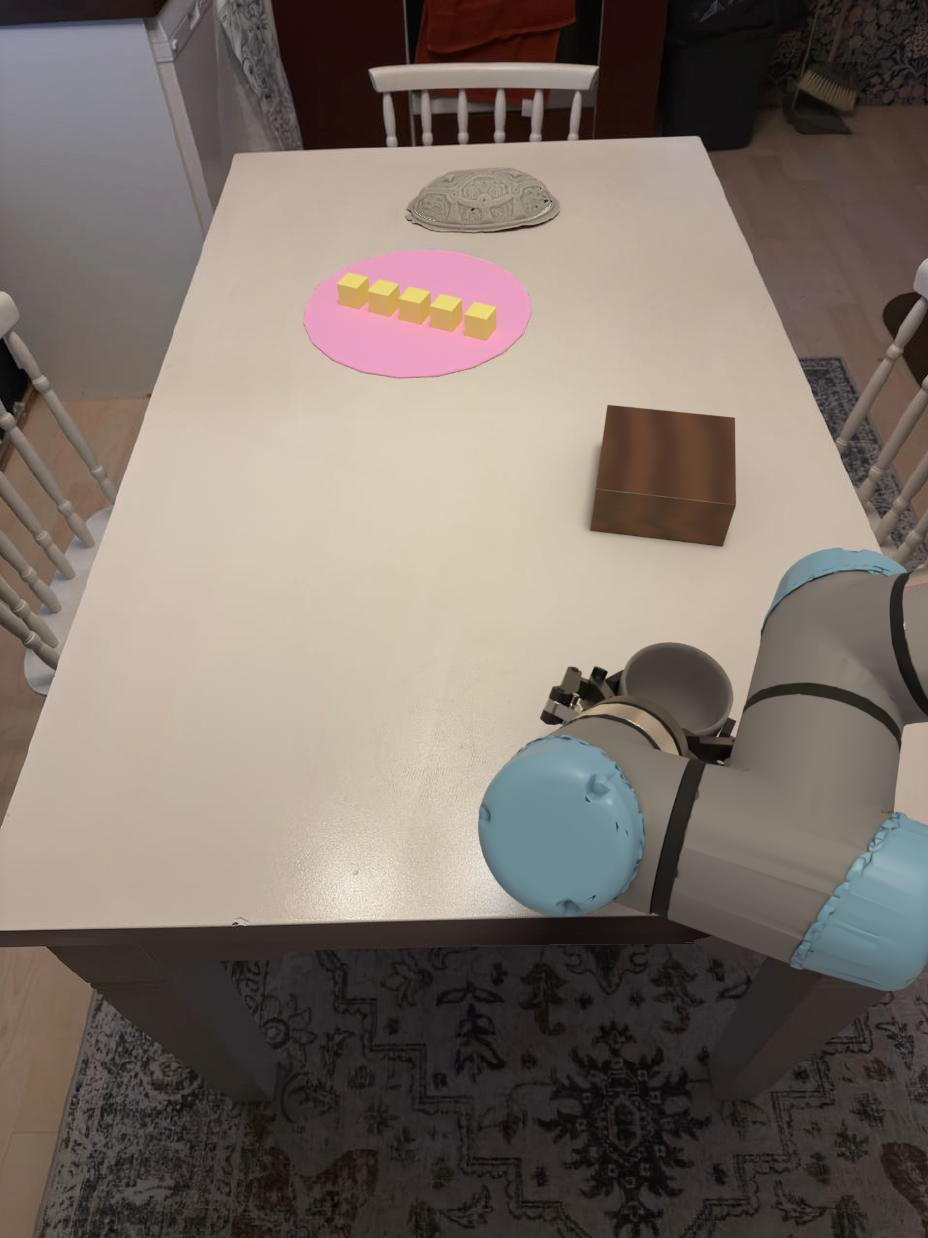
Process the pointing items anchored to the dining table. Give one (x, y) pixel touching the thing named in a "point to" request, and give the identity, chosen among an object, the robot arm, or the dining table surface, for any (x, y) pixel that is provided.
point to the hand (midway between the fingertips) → (671, 709)
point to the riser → (666, 475)
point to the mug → (681, 685)
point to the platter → (417, 313)
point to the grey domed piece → (468, 189)
